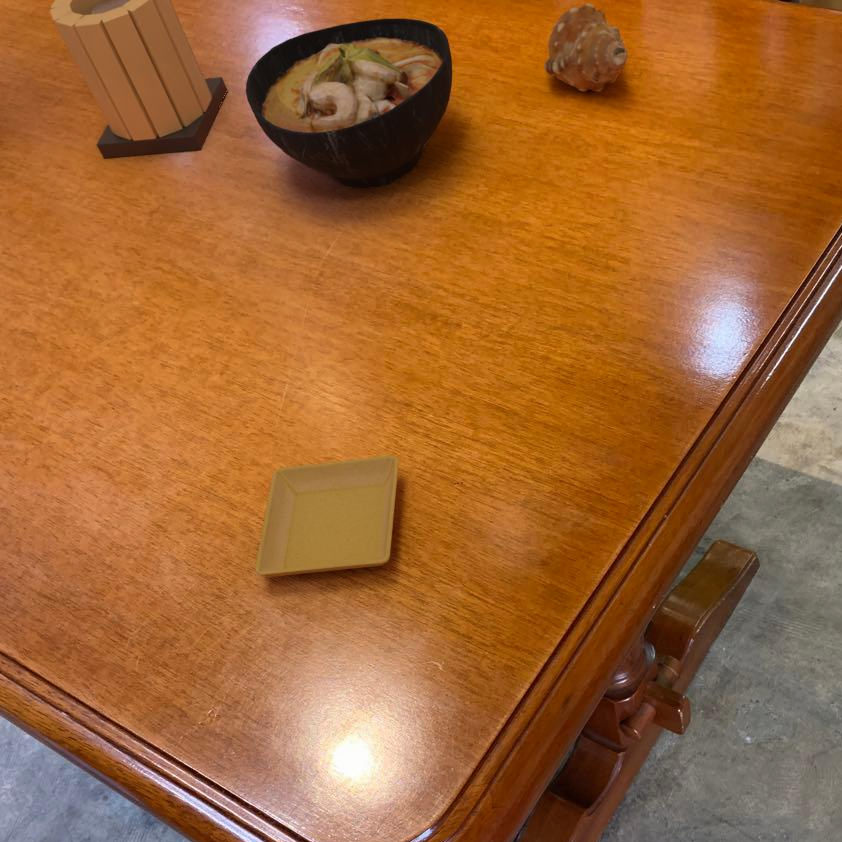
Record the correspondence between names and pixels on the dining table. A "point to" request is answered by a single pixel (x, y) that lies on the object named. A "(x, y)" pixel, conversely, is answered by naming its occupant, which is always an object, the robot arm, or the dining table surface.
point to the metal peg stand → (173, 142)
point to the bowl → (355, 97)
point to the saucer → (329, 517)
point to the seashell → (585, 49)
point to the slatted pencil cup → (135, 65)
